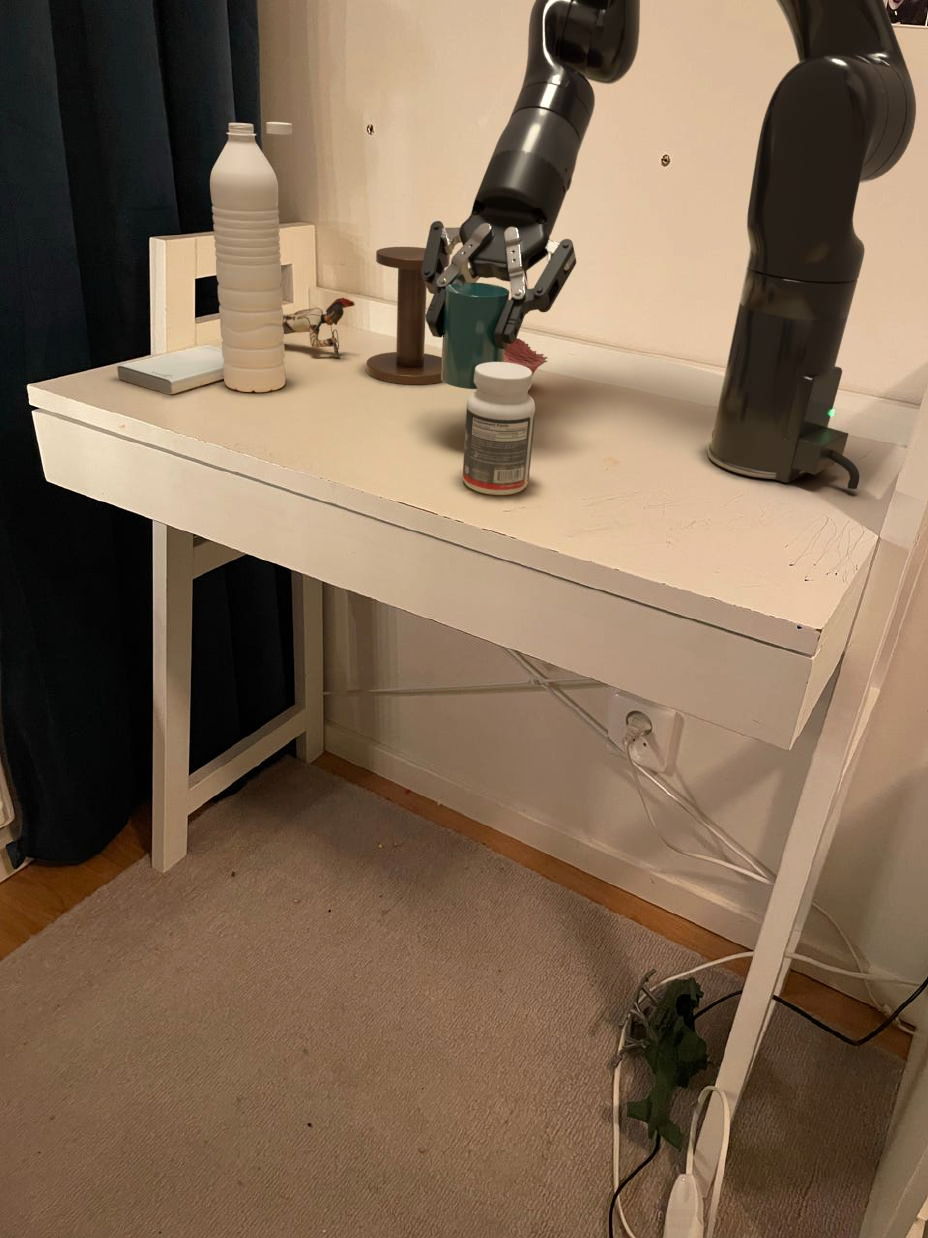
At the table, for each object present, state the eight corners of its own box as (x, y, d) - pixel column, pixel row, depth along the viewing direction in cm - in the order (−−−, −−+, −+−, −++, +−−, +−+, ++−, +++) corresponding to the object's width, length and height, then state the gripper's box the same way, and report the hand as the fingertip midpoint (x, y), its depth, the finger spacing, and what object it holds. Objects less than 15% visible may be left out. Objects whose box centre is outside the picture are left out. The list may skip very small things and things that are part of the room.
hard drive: (171, 380, 94) (256, 355, 104) (116, 364, 98) (203, 342, 107) (172, 396, 95) (257, 370, 105) (118, 379, 99) (204, 356, 108)
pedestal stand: (470, 375, 108) (478, 256, 101) (407, 390, 102) (411, 265, 95) (411, 355, 114) (415, 242, 107) (348, 368, 107) (347, 249, 101)
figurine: (251, 372, 115) (360, 356, 110) (233, 354, 112) (345, 336, 106) (258, 332, 117) (366, 313, 112) (241, 312, 113) (351, 292, 108)
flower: (558, 391, 105) (564, 341, 102) (509, 403, 100) (513, 351, 97) (508, 373, 109) (512, 325, 107) (459, 384, 104) (461, 334, 102)
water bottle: (245, 396, 96) (228, 124, 84) (212, 381, 100) (192, 118, 88) (314, 383, 102) (309, 125, 89) (281, 369, 106) (271, 120, 93)
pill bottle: (477, 466, 83) (484, 355, 78) (537, 479, 82) (548, 366, 76) (451, 488, 79) (458, 372, 74) (514, 502, 77) (525, 384, 72)
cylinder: (514, 382, 85) (522, 291, 81) (472, 393, 81) (478, 299, 77) (470, 367, 88) (476, 279, 84) (427, 377, 85) (431, 286, 81)
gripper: (445, 138, 83) (379, 299, 80) (599, 155, 79) (536, 326, 76) (465, 197, 90) (406, 348, 87) (607, 216, 86) (550, 375, 82)
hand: (466, 337), depth 81 cm, fingers closed on cylinder, 5 cm apart
